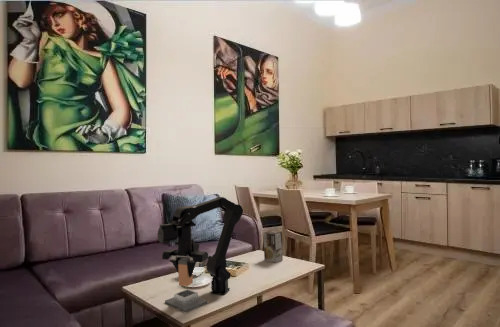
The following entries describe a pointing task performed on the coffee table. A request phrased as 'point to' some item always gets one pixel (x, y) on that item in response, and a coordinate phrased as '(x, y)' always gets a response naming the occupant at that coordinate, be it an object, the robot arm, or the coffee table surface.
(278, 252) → the coffee box
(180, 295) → the collar
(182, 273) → the orange block
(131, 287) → the coffee table surface
